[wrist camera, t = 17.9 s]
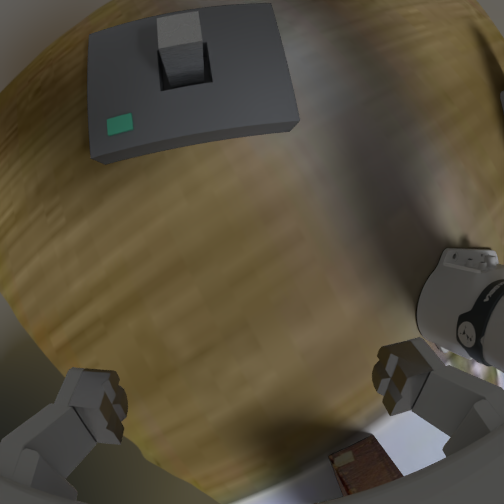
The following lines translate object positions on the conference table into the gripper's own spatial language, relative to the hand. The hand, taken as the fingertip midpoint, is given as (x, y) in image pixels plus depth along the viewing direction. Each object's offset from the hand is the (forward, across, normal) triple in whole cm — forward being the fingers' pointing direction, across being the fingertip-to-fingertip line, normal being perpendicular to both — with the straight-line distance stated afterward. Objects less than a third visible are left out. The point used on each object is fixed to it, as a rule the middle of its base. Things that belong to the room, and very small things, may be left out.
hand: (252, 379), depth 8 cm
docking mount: (+35, +4, -14) cm, 37 cm away
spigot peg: (+34, +4, -14) cm, 37 cm away
